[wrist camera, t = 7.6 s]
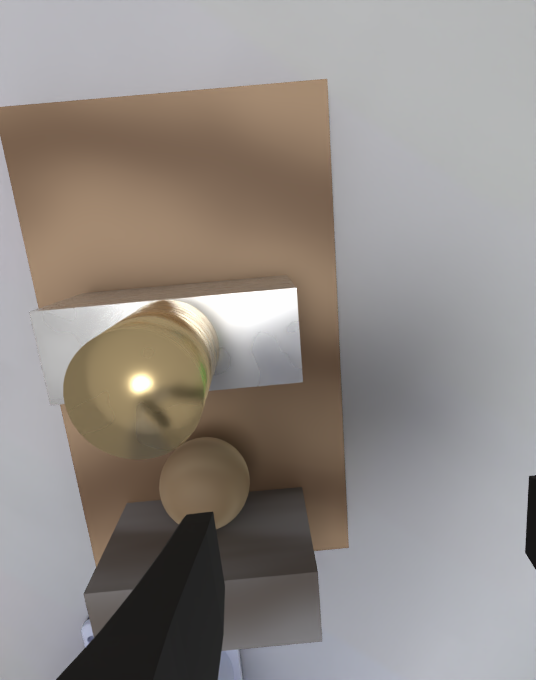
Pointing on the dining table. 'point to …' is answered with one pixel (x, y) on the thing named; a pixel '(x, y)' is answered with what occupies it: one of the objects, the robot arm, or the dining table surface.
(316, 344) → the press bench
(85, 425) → the jaw
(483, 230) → the dining table surface
